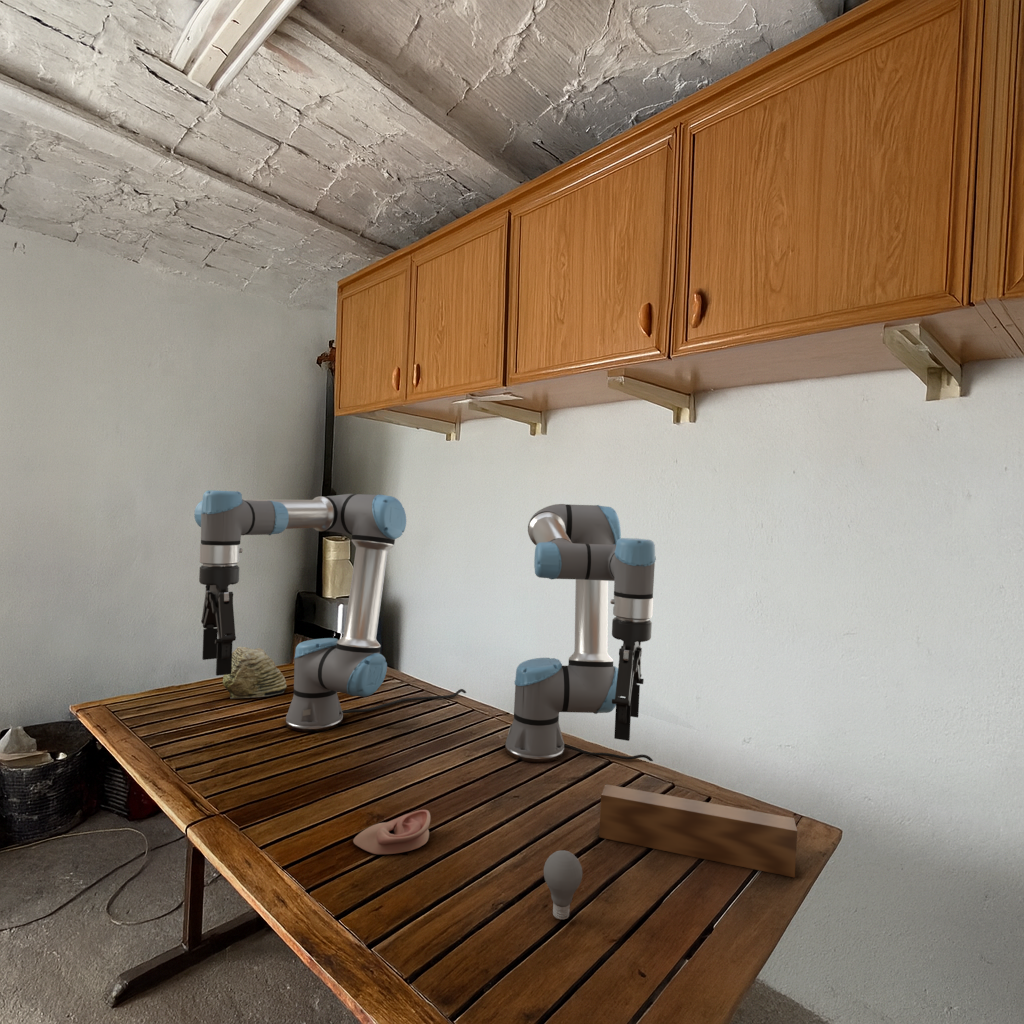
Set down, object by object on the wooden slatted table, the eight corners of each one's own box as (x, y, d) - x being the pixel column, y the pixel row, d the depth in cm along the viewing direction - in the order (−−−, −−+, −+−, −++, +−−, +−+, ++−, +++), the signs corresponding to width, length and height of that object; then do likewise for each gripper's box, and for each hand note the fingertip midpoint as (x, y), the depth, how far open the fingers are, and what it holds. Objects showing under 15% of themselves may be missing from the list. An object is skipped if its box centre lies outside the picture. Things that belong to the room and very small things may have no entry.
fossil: (218, 695, 195) (220, 647, 195) (278, 685, 208) (279, 640, 207) (228, 703, 189) (230, 653, 188) (289, 692, 201) (290, 645, 201)
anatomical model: (346, 827, 114) (372, 798, 125) (345, 849, 114) (372, 818, 125) (416, 839, 111) (436, 808, 122) (415, 861, 111) (436, 828, 123)
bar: (791, 862, 116) (793, 818, 116) (794, 877, 112) (797, 831, 112) (603, 825, 127) (605, 783, 127) (598, 837, 122) (601, 794, 122)
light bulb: (539, 904, 101) (542, 842, 101) (576, 904, 101) (579, 842, 101) (544, 930, 95) (547, 864, 95) (583, 929, 95) (586, 864, 95)
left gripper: (254, 571, 124) (250, 679, 124) (225, 558, 144) (222, 651, 144) (212, 572, 119) (209, 684, 120) (189, 558, 139) (185, 654, 140)
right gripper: (621, 607, 136) (617, 705, 136) (601, 627, 112) (596, 746, 112) (657, 610, 133) (652, 710, 134) (644, 632, 110) (638, 753, 110)
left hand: (216, 666), depth 132 cm, fingers open, 13 cm apart
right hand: (626, 727), depth 123 cm, fingers open, 13 cm apart
